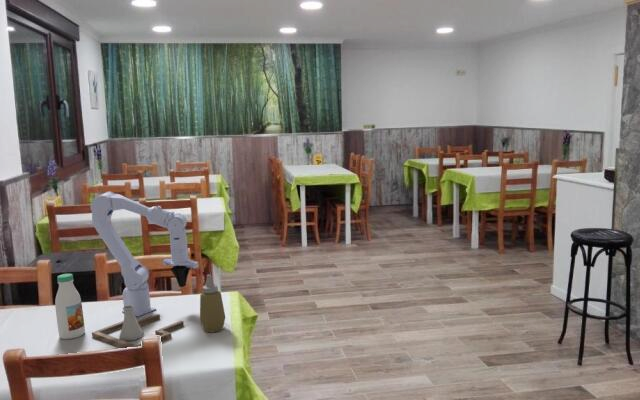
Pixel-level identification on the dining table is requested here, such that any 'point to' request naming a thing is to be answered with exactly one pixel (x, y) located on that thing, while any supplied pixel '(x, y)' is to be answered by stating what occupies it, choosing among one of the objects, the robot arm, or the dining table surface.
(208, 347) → the dining table surface
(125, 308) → the flask
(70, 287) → the milk bottle
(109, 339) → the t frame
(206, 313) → the squeeze bottle
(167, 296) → the dining table surface
